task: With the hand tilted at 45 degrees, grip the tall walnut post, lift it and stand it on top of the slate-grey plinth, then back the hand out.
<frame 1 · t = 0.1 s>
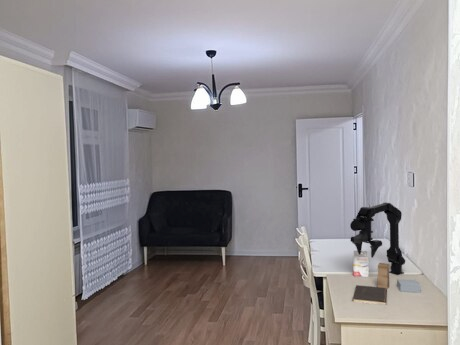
hand: (365, 255, 266), 15 cm above the table, tool pointing down, fingers open, 9 cm apart
ink cartridge box: (360, 275, 278), on the table
hardcover book: (370, 297, 239), on the table
slate plinth: (408, 289, 250), on the table
walnut post: (383, 287, 254), on the table
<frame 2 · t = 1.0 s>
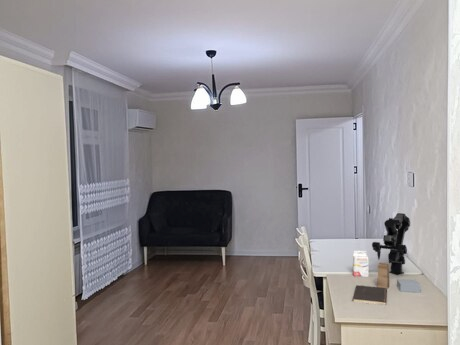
hand: (386, 260, 260), 13 cm above the table, tool tilted 45°, fingers open, 9 cm apart
nothing on the table moved.
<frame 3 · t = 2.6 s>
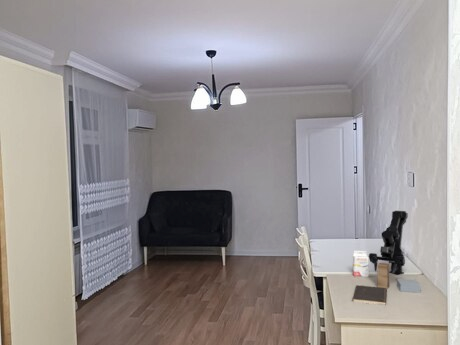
hand: (383, 272, 254), 8 cm above the table, tool tilted 45°, fingers open, 9 cm apart
nothing on the table moved.
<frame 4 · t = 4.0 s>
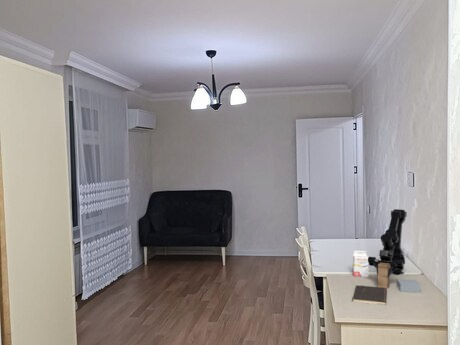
hand: (382, 276, 253), 7 cm above the table, tool tilted 45°, fingers closed on walnut post, 5 cm apart
walnut post: (383, 287, 254), on the table, touching gripper
everything else where it was.
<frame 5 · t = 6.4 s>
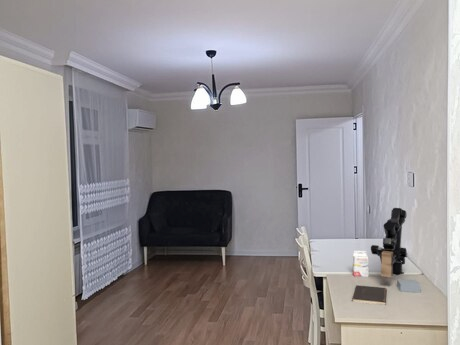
hand: (386, 264, 252), 13 cm above the table, tool tilted 45°, fingers closed on walnut post, 5 cm apart
walnut post: (386, 275, 253), point 7 cm above the table, touching gripper
everything else where it was.
when the fingers open (12 cm above the table, at t = 8.4 s): walnut post drops 1 cm, resting on slate plinth.
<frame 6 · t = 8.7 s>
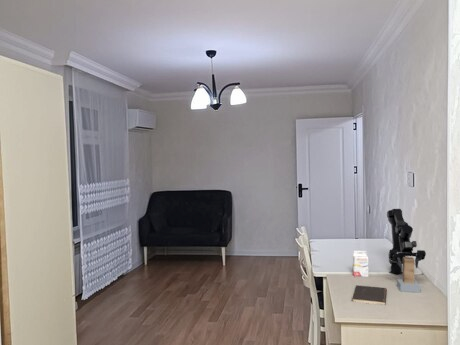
hand: (409, 268, 248), 12 cm above the table, tool tilted 45°, fingers open, 8 cm apart
walnut post: (408, 281, 250), point 4 cm above the table, touching slate plinth
everything else where it was.
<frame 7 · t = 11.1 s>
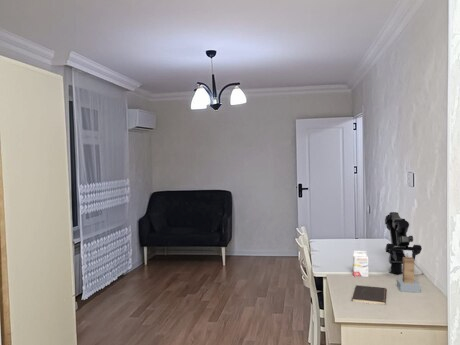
hand: (405, 261, 256), 13 cm above the table, tool tilted 45°, fingers open, 9 cm apart
nothing on the table moved.
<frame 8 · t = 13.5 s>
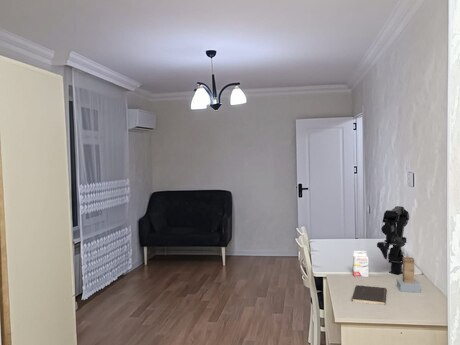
hand: (390, 258, 271), 12 cm above the table, tool pointing down, fingers open, 9 cm apart
nothing on the table moved.
at the end: walnut post 0.1 cm off-centre on the slate plinth, point 4.0 cm above the slate plinth's base; walnut post tilted 0°; the gripper is holding nothing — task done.
